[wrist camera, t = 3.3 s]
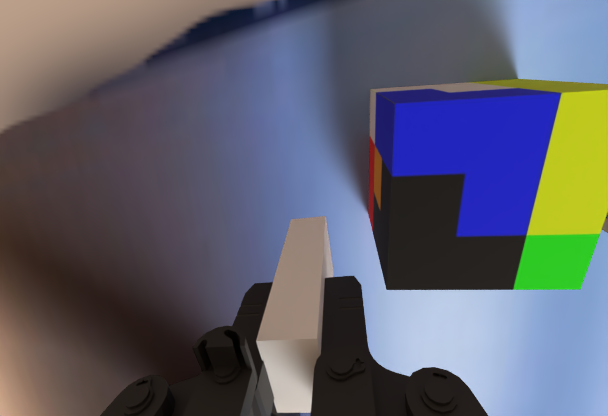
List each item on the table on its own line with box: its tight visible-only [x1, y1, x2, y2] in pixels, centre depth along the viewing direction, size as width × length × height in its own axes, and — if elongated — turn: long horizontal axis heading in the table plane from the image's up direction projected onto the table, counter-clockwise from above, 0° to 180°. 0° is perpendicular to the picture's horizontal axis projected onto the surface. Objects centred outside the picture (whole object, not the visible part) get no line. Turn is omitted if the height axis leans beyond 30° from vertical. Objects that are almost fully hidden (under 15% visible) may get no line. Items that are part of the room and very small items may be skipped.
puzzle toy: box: [369, 79, 608, 290], centre depth 20 cm, size 10×10×10 cm
